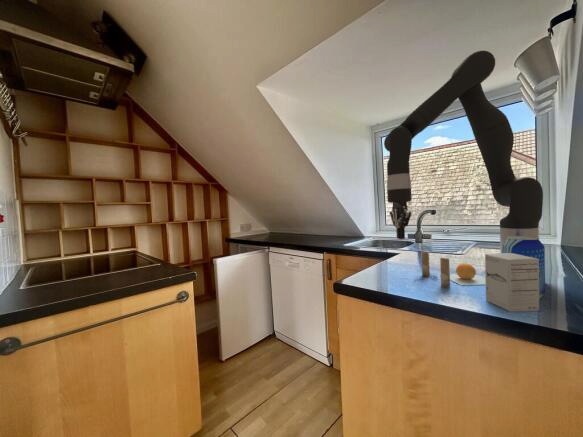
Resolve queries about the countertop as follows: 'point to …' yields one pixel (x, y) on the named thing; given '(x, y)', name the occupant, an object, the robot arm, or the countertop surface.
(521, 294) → the supplement box
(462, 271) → the ball
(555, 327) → the countertop surface
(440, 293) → the countertop surface
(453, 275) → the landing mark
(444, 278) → the near post
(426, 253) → the far post
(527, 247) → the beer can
